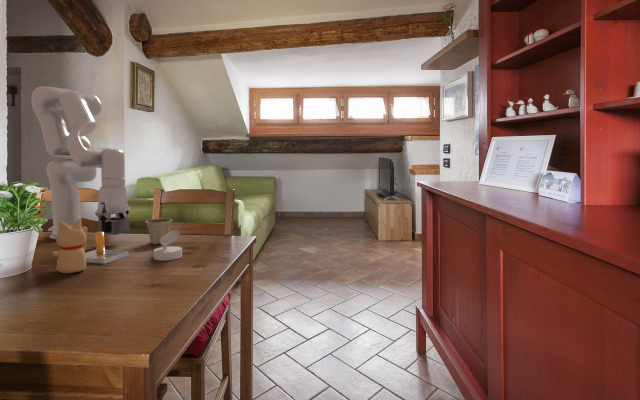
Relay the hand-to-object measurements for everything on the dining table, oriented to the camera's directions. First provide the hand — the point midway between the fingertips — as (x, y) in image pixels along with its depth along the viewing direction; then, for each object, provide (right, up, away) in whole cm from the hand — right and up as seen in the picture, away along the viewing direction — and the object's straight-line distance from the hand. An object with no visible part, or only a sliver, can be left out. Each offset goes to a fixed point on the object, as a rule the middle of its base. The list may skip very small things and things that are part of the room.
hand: (114, 230), depth 141 cm
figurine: (+6, -9, -33) cm, 35 cm away
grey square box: (0, -1, 0) cm, 1 cm away
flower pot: (+15, -5, +4) cm, 17 cm away
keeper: (+7, -8, -20) cm, 22 cm away
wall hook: (+28, -8, -18) cm, 34 cm away
